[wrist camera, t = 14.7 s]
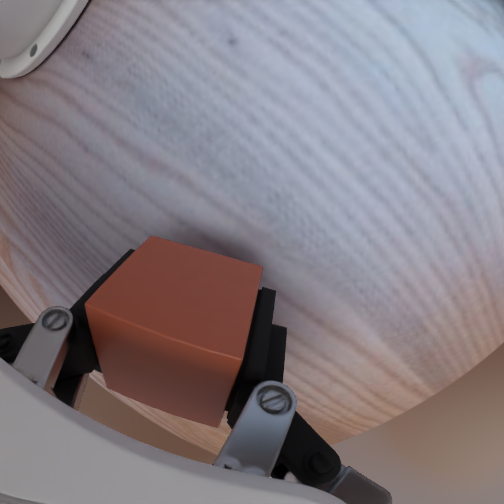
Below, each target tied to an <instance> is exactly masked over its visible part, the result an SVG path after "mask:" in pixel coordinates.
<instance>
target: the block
mask: <svg viewBox="0 0 504 504" xmlns="http://www.w3.org/2000/svg"><path fill="white" fill-rule="evenodd" d="M262 270H263V267H262V266H260V265H256V264H252V263H249V262H245V261H241V260H238V259H234V258H231V257H227V256H223V255H220V254H216V253H213V252H209V251H205V250H202V249H198V248H195V247H191V246H188V245H184V244H180V243H177V242H173V241H170V240H166V239H163V238H159V237H156V236H150V237H149V238H148V239H147V240H146V241H145V242H144V243H143V244H142V245H141V246H140V247H139V248H138V249H137V250H136V251H135V252H134V253H133V254H132V255H131V256H130V257H129V258H128V259H127V260H126V261H125V262H124V263H123V264H122V265H121V266H120V267H119V268H118V269H117V270H116V271H115V272H114V273H113V274H112V275H111V276H110V277H109V278H108V279H107V280H106V281H105V282H104V283H103V284H102V285H101V286H100V287H99V288H98V290H97V291H96V292H95V293H94V294H93V295H92V296H91V297H90V298H89V299H88V300H87V302H86V303H85V309H86V314H87V318H88V323H89V327H90V331H91V335H92V339H93V343H94V347H95V350H96V354H97V357H98V361H99V364H100V367H101V370H102V374H103V377H104V380H105V383H106V386H107V388H109V389H111V390H113V391H116V392H118V393H120V394H122V395H124V396H127V397H129V398H131V399H134V400H136V401H139V402H141V403H143V404H146V405H149V406H151V407H154V408H156V409H159V410H162V411H165V412H167V413H170V414H173V415H176V416H179V417H182V418H185V419H188V420H192V421H195V422H198V423H202V424H205V425H209V426H212V427H216V428H218V427H219V425H220V422H221V419H222V417H223V414H224V411H225V408H226V406H227V403H228V400H229V397H230V395H231V392H232V389H233V386H234V383H235V380H236V378H237V375H238V372H239V369H240V366H241V363H242V360H243V356H244V352H245V348H246V343H247V339H248V334H249V330H250V325H251V321H252V316H253V311H254V307H255V302H256V298H257V293H258V288H259V284H260V279H261V274H262Z"/></svg>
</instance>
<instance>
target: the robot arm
mask: <svg viewBox="0 0 504 504" xmlns="http://www.w3.org/2000/svg"><path fill="white" fill-rule="evenodd" d="M88 1H89V0H0V77H2V78H17V77H20V76H24V75H25V74H27V73H29V72H30V71H32V70H33V69H34V68H36V67H37V66H38V65H39V64H40V63H42V62H43V61H44V59H45V58H46V57H47V56H48V55H49V54H50V53H51V52H52V51H53V50H54V49H55V47H56V46H57V45H58V44H59V43H60V41H61V40H62V39H63V38H64V37H65V35H66V34H67V32H68V31H69V30H70V28H71V27H72V25H73V24H74V23H75V21H76V20H77V18H78V17H79V15H80V13H81V12H82V10H83V9H84V7H85V6H86V4H87V2H88ZM135 251H136V250H134V249H130V250H129V251H128V252H127V253H126V254H125V255H124V256H122V257H121V258H120V259H119V260H118V261H117V262H116V263H115V264H114V265H113V266H112V267H111V268H110V269H109V270H108V271H107V272H106V273H105V274H103V275H102V276H101V277H100V278H99V279H98V280H97V281H96V282H95V283H94V284H93V285H92V286H91V287H90V288H89V289H88V290H87V291H86V292H85V293H84V295H83V296H82V297H81V298H80V299H79V300H78V301H77V302H76V303H75V304H74V305H73V306H72V307H71V309H70V310H69V309H67V308H65V307H63V306H52V307H50V308H47V309H46V310H44V311H43V312H42V313H41V315H40V316H39V318H38V319H37V321H36V323H32V324H26V325H21V326H15V327H9V328H4V329H1V330H0V504H392V497H391V494H390V493H389V492H388V491H387V490H386V489H384V488H383V487H381V486H379V485H378V484H376V483H375V482H373V481H372V480H370V479H368V478H367V477H365V476H364V475H362V474H361V473H359V472H357V471H356V470H355V469H353V468H352V467H350V466H348V467H345V466H344V465H342V464H341V461H340V458H339V456H338V454H337V453H336V452H335V451H334V450H333V449H332V448H331V447H330V446H329V445H328V444H327V443H326V442H325V441H324V440H323V439H322V438H321V437H320V436H319V435H318V434H317V433H316V432H315V431H314V429H313V428H312V427H311V426H310V425H309V424H308V423H307V422H306V421H305V420H304V419H303V418H302V417H301V416H300V415H299V414H298V413H297V412H296V407H297V399H296V395H295V394H294V392H293V391H292V390H291V389H290V388H289V387H288V386H287V385H285V384H283V372H284V361H285V348H286V335H287V328H286V327H282V326H278V325H274V324H272V319H273V311H274V303H275V295H276V290H272V289H268V288H265V287H262V289H261V290H258V293H257V298H256V302H255V307H254V311H253V316H252V321H251V325H250V330H249V334H248V339H247V343H246V348H245V352H244V356H243V360H242V363H241V366H240V369H239V372H238V375H237V378H236V380H235V383H234V386H233V389H232V392H231V395H230V397H229V400H228V403H227V406H226V408H225V410H226V411H228V415H227V419H228V421H227V423H228V425H229V426H230V427H231V429H232V431H231V433H230V435H229V436H228V438H227V440H226V442H225V444H224V445H223V447H222V449H221V451H220V452H219V454H218V456H217V458H216V459H215V461H214V463H213V464H212V465H209V464H205V463H201V462H198V461H194V460H191V459H188V458H184V457H181V456H178V455H175V454H172V453H169V452H166V451H163V450H161V449H158V448H155V447H152V446H150V445H147V444H145V443H142V442H140V441H137V440H135V439H133V438H130V437H128V436H126V435H124V434H121V433H119V432H117V431H115V430H113V429H111V428H109V427H106V426H104V425H102V424H100V423H99V422H97V421H95V420H93V419H91V418H89V417H87V416H85V415H84V414H82V413H79V412H78V410H79V405H80V402H81V399H82V396H83V392H84V389H85V386H86V383H87V379H88V377H89V373H91V372H92V371H93V370H96V371H98V372H100V373H102V370H101V367H100V364H99V361H98V357H97V354H96V350H95V347H94V343H93V339H92V335H91V331H90V327H89V323H88V318H87V314H86V309H85V303H86V302H87V300H88V299H89V298H90V297H91V296H92V295H93V294H94V293H95V292H96V291H97V290H98V288H99V287H100V286H101V285H102V284H103V283H104V282H105V281H106V280H107V279H108V278H109V277H110V276H111V275H112V274H113V273H114V272H115V271H116V270H117V269H118V268H119V267H120V266H121V265H122V264H123V263H124V262H125V261H126V260H127V259H128V258H129V257H130V256H131V255H132V254H133V253H134V252H135ZM269 476H271V477H272V478H269Z"/></svg>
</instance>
